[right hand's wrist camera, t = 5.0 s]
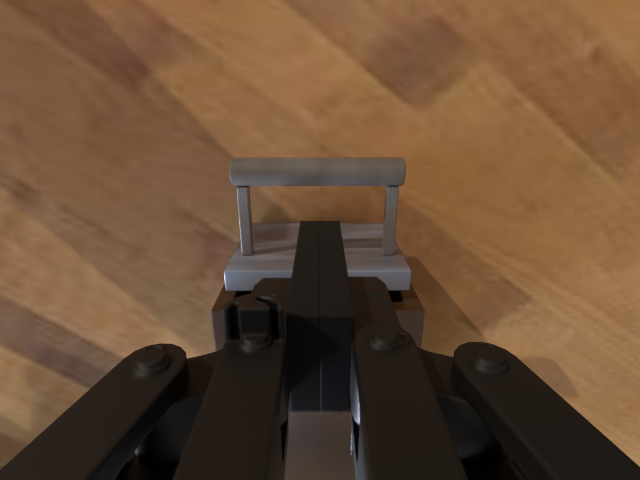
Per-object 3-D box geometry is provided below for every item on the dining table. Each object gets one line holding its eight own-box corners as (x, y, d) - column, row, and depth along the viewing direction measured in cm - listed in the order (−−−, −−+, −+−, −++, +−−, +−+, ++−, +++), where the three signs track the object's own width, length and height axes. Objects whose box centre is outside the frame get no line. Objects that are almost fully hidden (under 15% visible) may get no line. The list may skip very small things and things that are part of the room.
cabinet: (245, 241, 28) (210, 311, 19) (390, 241, 28) (425, 310, 19) (258, 410, 34) (236, 524, 25) (378, 409, 34) (400, 524, 25)
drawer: (243, 144, 25) (212, 165, 17) (391, 144, 25) (422, 165, 17) (261, 392, 32) (244, 479, 25) (375, 391, 32) (391, 478, 25)
